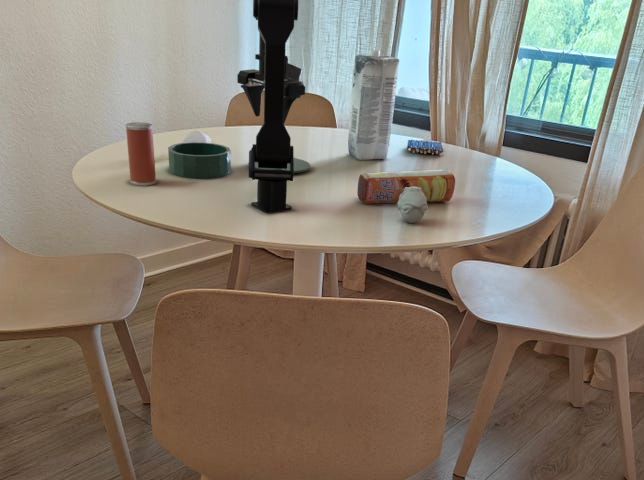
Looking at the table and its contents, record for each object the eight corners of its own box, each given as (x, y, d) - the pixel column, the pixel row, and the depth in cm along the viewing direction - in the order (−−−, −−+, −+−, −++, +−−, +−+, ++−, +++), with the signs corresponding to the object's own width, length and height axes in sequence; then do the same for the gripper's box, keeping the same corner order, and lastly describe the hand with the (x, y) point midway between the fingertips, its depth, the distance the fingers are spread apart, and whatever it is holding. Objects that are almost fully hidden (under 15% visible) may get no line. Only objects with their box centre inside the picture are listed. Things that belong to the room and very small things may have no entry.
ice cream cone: (178, 160, 165) (203, 158, 178) (196, 147, 162) (220, 146, 176) (165, 139, 164) (191, 139, 178) (183, 125, 162) (208, 126, 175)
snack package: (364, 206, 139) (367, 175, 136) (354, 197, 145) (357, 167, 141) (453, 204, 145) (458, 174, 141) (440, 195, 150) (445, 166, 147)
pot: (241, 174, 157) (241, 153, 154) (185, 181, 149) (184, 158, 147) (212, 161, 167) (212, 140, 164) (159, 166, 159) (158, 144, 157)
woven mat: (443, 155, 186) (444, 148, 185) (406, 152, 188) (407, 145, 187) (442, 148, 195) (443, 141, 194) (407, 145, 197) (407, 138, 196)
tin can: (160, 184, 146) (156, 126, 140) (136, 186, 143) (131, 128, 137) (150, 177, 150) (146, 121, 144) (126, 180, 147) (121, 123, 141)
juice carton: (391, 160, 179) (404, 53, 166) (357, 161, 176) (367, 52, 162) (376, 152, 186) (387, 49, 173) (343, 153, 183) (352, 48, 169)
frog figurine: (419, 216, 135) (423, 183, 132) (429, 227, 129) (435, 192, 126) (391, 216, 134) (395, 182, 131) (400, 227, 128) (405, 192, 125)
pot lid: (322, 172, 163) (324, 147, 160) (269, 178, 155) (270, 152, 152) (288, 158, 174) (289, 134, 171) (237, 163, 166) (237, 139, 163)
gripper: (324, 54, 149) (319, 124, 158) (271, 43, 160) (269, 108, 169) (288, 57, 142) (285, 130, 151) (235, 45, 153) (235, 113, 162)
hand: (269, 120), depth 158 cm, fingers open, 9 cm apart
